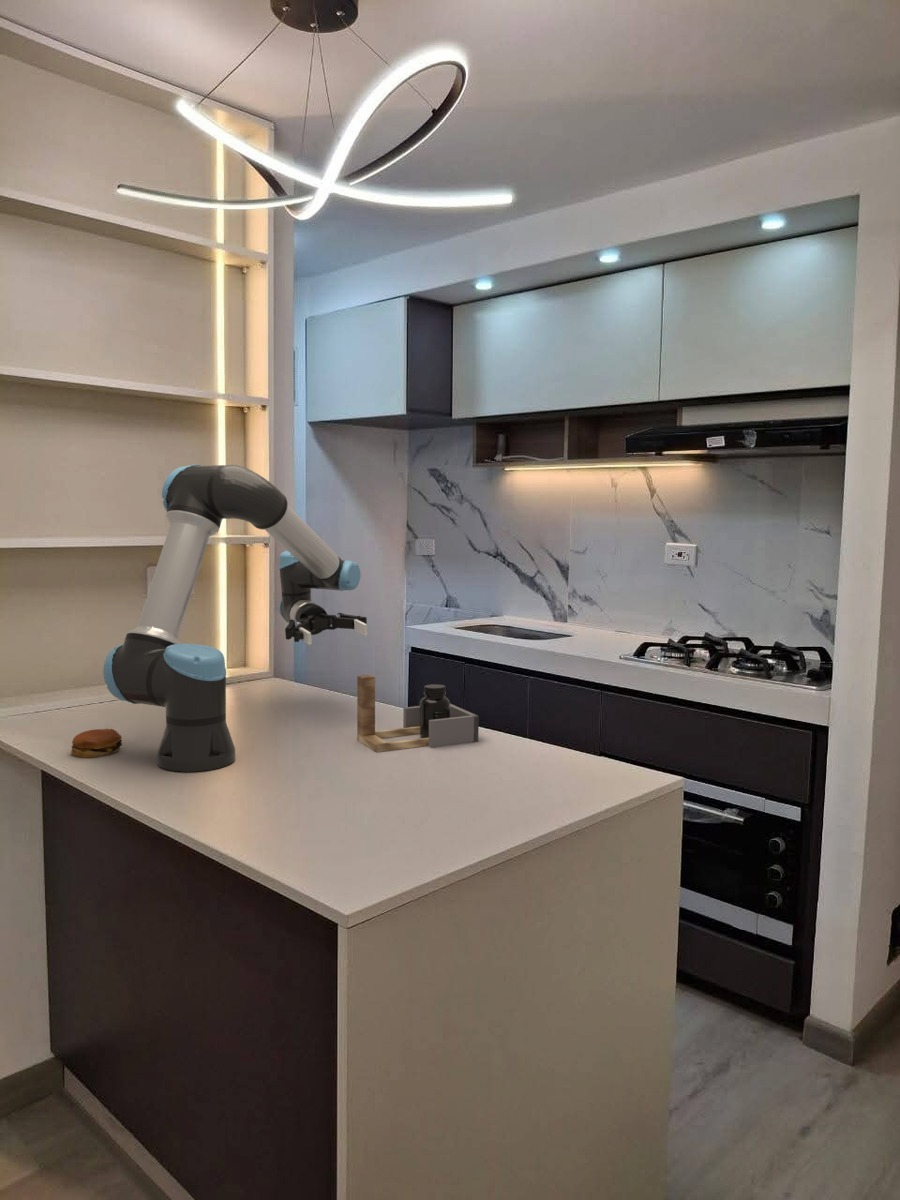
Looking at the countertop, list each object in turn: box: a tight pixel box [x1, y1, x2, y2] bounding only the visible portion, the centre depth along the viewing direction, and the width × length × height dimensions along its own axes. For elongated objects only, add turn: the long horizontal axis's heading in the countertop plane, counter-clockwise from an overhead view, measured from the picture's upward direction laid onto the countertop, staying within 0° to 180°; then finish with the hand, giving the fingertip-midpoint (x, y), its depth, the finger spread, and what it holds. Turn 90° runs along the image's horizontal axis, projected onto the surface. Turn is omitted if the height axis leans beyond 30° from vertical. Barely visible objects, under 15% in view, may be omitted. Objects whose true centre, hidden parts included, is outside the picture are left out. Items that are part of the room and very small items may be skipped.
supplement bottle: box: [419, 684, 451, 739], centre depth 199 cm, size 7×7×12 cm
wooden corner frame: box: [356, 674, 429, 753], centre depth 196 cm, size 22×11×14 cm, turn 118°
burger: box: [70, 728, 123, 759], centre depth 185 cm, size 10×9×5 cm
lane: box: [402, 703, 480, 749], centre depth 200 cm, size 12×14×6 cm
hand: (338, 634), depth 204 cm, fingers open, 13 cm apart
